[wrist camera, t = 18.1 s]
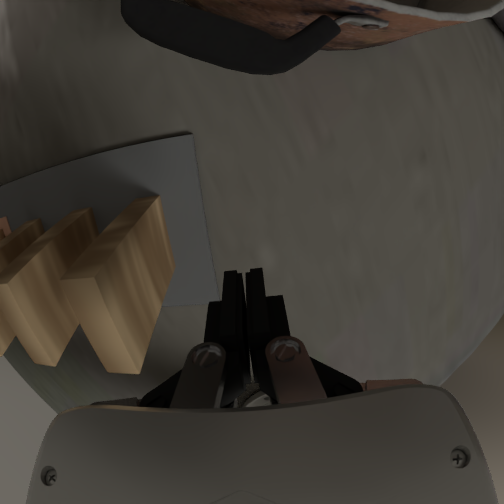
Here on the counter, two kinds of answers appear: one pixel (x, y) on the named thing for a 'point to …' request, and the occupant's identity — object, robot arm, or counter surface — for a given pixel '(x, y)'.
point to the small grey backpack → (499, 19)
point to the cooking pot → (289, 27)
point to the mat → (127, 203)
